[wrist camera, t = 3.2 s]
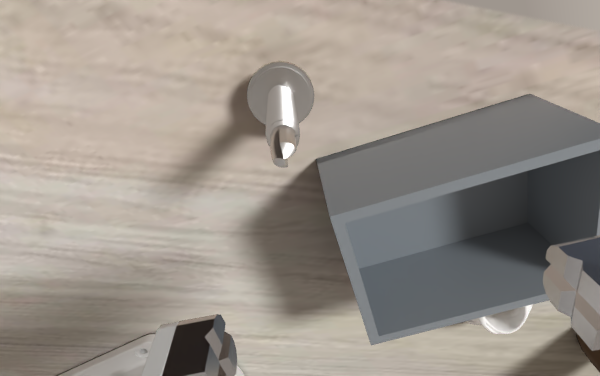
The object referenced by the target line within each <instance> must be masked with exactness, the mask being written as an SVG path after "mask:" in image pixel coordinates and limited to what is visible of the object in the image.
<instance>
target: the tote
mask: <svg viewBox="0 0 600 376" xmlns="http://www.w3.org/2000/svg"><path fill="white" fill-rule="evenodd" d="M316 161H317V165H318V169H319V174H320V178H321V182H322V186H323V191H324V195H325V199H326V203H327V208H328V212H329V216H330V220H331V223H332V226H333V229H334V232H335V235H336V238H337V241H338V244H339V247H340V250H341V254H342V257H343V260H344V263H345V266H346V269H347V272H348V275H349V278H350V281H351V284H352V288H353V291H354V294H355V297H356V300H357V303H358V306H359V309H360V312H361V315H362V319H363V322H364V325H365V328H366V331H367V334H368V337H369V340H370V343H371V345H374V344H378V343H382V342H386V341H390V340H394V339H398V338H402V337H406V336H410V335H414V334H417V333H421V332H425V331H429V330H433V329H437V328H441V327H445V326H449V325H453V324H457V323H461V322H465V321H469V320H473V319H477V318H481V317H485V316H488V315H492V314H496V313H500V312H504V311H508V310H512V309H516V308H520V307H524V306H528V305H532V304H536V303H540V302H544V301H548V300H549V298H548V296H547V295H546V292H545V289H544V285H543V274H544V271H545V270H546V269H547V268H548V267H549V266H550V265H551V264H550V263H549V262H548V261H547V259H546V253H547V249H548V248H549V247H550V246H551V245H556V244H560V243H565V242H570V241H574V240H579V239H583V238H588V237H594V236H598V235H600V123H598V122H595V121H593V120H591V119H588V118H586V117H584V116H581V115H579V114H577V113H574V112H572V111H570V110H567V109H565V108H562V107H560V106H558V105H555V104H553V103H551V102H548V101H546V100H544V99H541V98H539V97H537V96H534V95H532V94H527V95H524V96H521V97H518V98H514V99H511V100H508V101H505V102H501V103H498V104H495V105H491V106H488V107H485V108H482V109H478V110H475V111H472V112H469V113H465V114H462V115H459V116H455V117H452V118H449V119H446V120H442V121H439V122H436V123H433V124H429V125H426V126H423V127H419V128H416V129H413V130H410V131H406V132H403V133H400V134H397V135H393V136H390V137H387V138H383V139H380V140H377V141H374V142H370V143H367V144H364V145H361V146H357V147H354V148H351V149H347V150H344V151H341V152H338V153H334V154H331V155H328V156H325V157H321V158H318V159H316Z"/></svg>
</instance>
